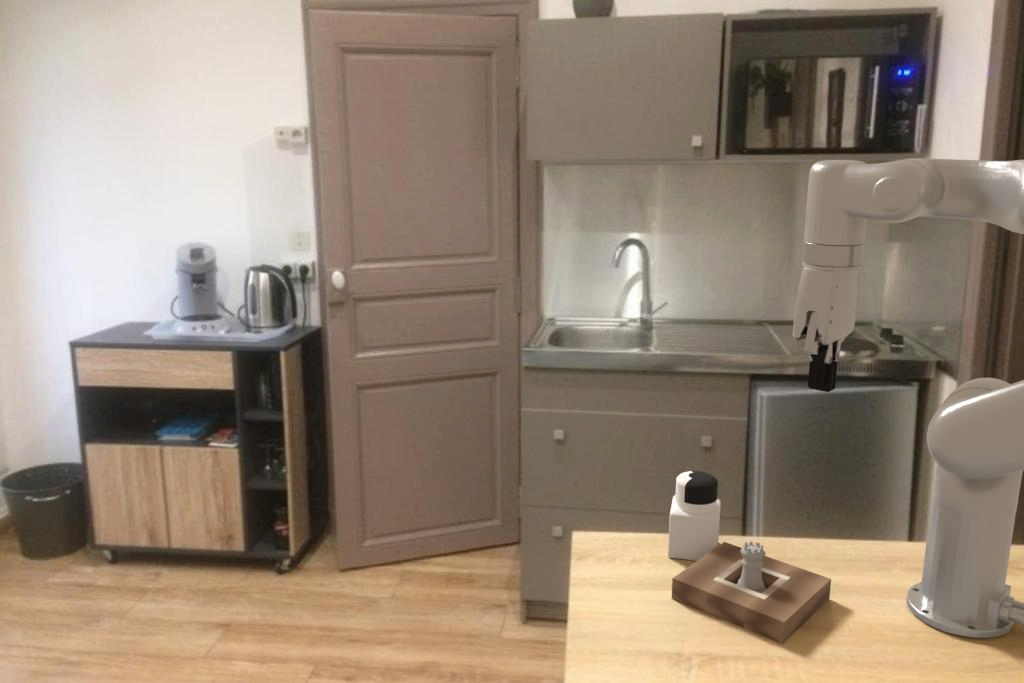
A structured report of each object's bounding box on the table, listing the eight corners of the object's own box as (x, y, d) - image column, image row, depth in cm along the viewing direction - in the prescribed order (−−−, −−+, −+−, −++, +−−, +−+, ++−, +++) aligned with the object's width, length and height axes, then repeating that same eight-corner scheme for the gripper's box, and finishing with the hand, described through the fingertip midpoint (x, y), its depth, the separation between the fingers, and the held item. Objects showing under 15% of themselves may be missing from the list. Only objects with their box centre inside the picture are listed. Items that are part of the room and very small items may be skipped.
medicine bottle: (718, 541, 135) (722, 468, 132) (717, 564, 129) (721, 487, 126) (671, 536, 137) (674, 464, 134) (667, 558, 130) (670, 483, 127)
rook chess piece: (768, 610, 117) (772, 555, 115) (733, 606, 117) (736, 552, 115) (765, 592, 121) (769, 539, 119) (732, 589, 122) (735, 536, 120)
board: (829, 598, 119) (831, 578, 118) (782, 643, 109) (784, 622, 108) (723, 560, 130) (724, 541, 129) (671, 598, 120) (672, 578, 119)
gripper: (828, 246, 124) (818, 372, 128) (780, 259, 113) (770, 396, 118) (882, 252, 119) (869, 382, 124) (837, 266, 108) (825, 408, 113)
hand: (821, 388), depth 121 cm, fingers closed
